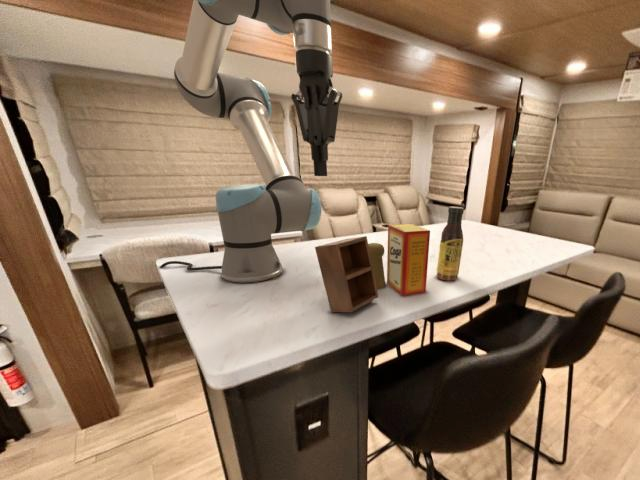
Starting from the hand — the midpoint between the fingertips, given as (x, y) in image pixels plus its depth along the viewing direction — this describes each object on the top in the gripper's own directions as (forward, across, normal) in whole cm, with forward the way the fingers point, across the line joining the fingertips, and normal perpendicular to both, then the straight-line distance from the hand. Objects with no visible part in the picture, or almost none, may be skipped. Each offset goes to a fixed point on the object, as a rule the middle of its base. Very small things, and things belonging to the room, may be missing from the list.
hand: (320, 175), depth 73 cm
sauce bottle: (+27, +26, +22) cm, 43 cm away
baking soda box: (+27, +20, +8) cm, 34 cm away
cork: (+27, +12, +5) cm, 30 cm away
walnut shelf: (+20, +12, -9) cm, 25 cm away
